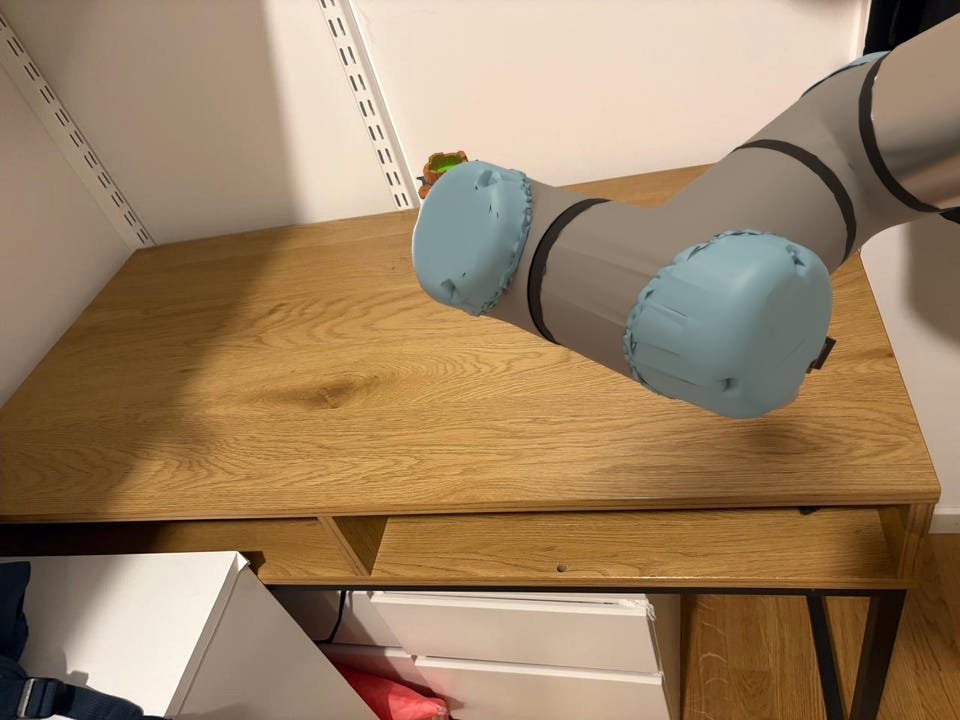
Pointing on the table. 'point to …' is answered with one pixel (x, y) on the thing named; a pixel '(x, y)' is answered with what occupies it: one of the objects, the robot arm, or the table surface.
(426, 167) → the mug
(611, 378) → the table surface
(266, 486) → the table surface
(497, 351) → the table surface
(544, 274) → the robot arm
